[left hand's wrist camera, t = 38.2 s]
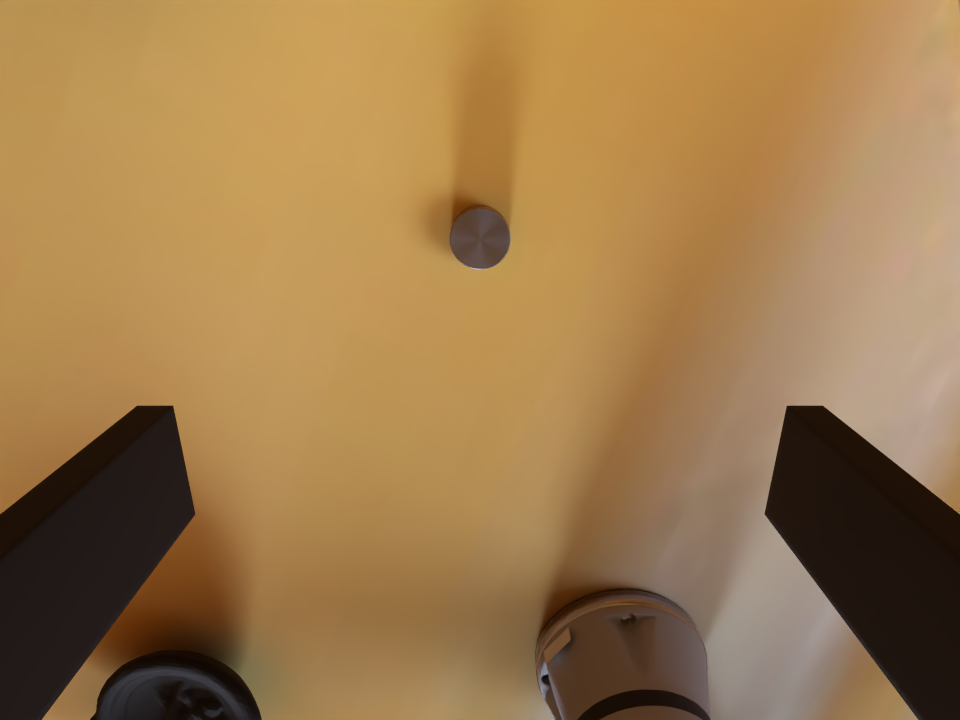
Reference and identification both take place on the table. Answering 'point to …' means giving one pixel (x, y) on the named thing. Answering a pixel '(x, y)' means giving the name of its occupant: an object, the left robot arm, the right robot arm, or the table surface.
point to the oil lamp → (175, 690)
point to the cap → (480, 237)
